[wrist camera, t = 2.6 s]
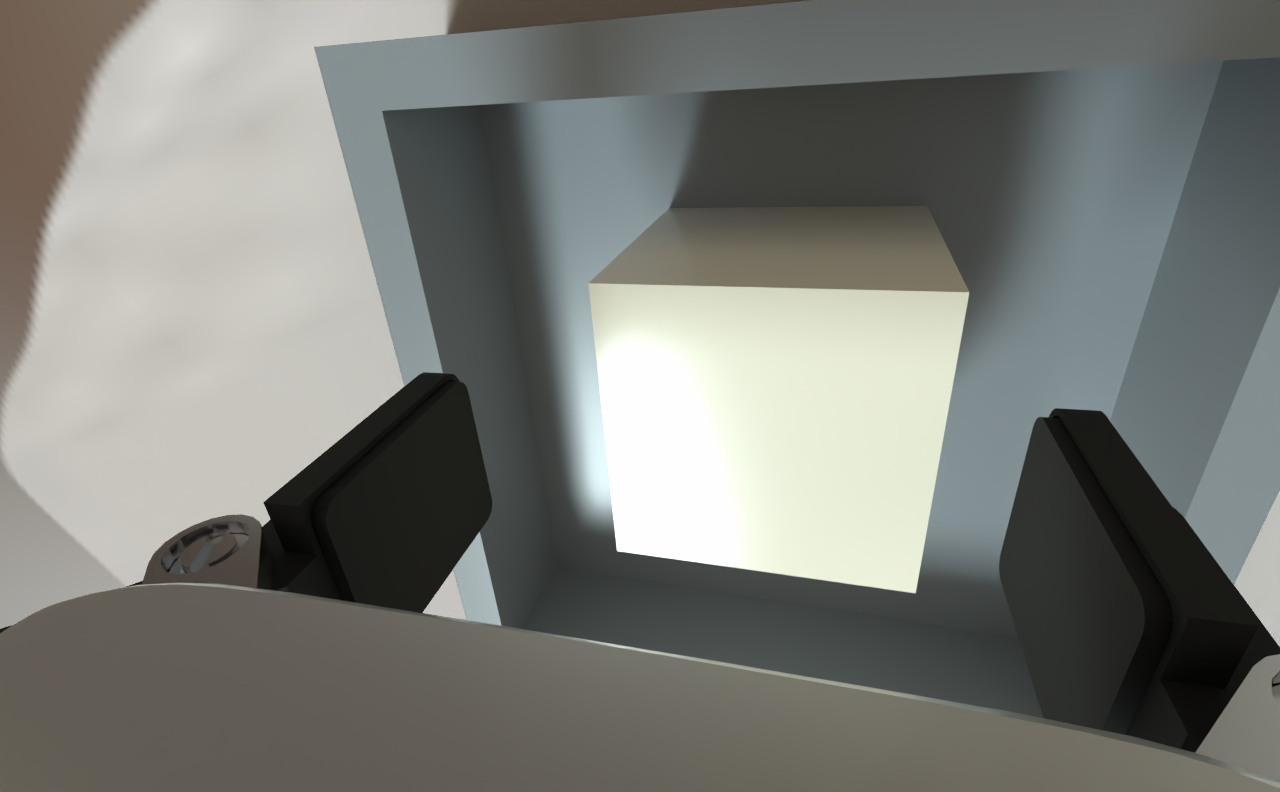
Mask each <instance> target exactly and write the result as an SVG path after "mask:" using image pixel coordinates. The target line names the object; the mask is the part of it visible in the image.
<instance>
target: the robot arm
mask: <svg viewBox="0 0 1280 792" xmlns="http://www.w3.org/2000/svg"><path fill="white" fill-rule="evenodd" d="M264 505H265V507H266V509H267V512H268V514H269V516H270V519H271V520H270V521H269V522H268V523H266V524H265V525H264V526H263V527H262V526H261V524H260V522H259V521H258V520H256V519H255V518H254V517H251V516H246V515H226V516H222V517H217V518H212V519H209V520H206V521H204V522H201V523H198V524H195V525H193V526H191V527H189V528H187V529H185V530H183V531H182V532H180V533H178V534H176V535H175V536H174V537H172V538H171V539H169V540H168V541H166V542H165V543H164V544H163V545H162V546H161V547H160V548H159V549H158V550H157V551H156V552H155V553H154V554H153V556H152V558H151V560H150V561H149V563H148V566H147V569H146V573H145V576H144V579H143V581H141V582H138V583H135V584H133V585H130V586H127V587H124V588H118V589H112V590H106V591H100V592H96V593H92V594H88V595H84V596H80V597H76V598H73V599H70V600H66V601H63V602H60V603H56V604H53V605H51V606H48V607H46V608H43V609H41V610H39V611H37V612H35V613H33V614H31V615H30V616H28V617H26V618H25V619H23V620H21V621H19V622H18V623H16V624H14V625H12V626H8V627H5V628H2V629H0V792H1280V647H1279V646H1278V645H1277V643H1276V642H1275V640H1274V639H1273V638H1272V636H1271V635H1270V634H1269V632H1268V631H1267V630H1266V628H1265V627H1264V625H1263V624H1262V623H1261V621H1260V620H1259V619H1258V617H1257V616H1256V615H1255V613H1254V612H1253V611H1252V609H1251V608H1250V606H1249V605H1248V604H1247V602H1246V601H1245V600H1244V598H1243V597H1242V596H1241V594H1240V593H1239V591H1238V590H1237V589H1236V587H1235V586H1234V585H1233V583H1232V582H1231V581H1230V579H1229V578H1228V577H1227V575H1226V574H1225V572H1224V571H1223V570H1222V568H1221V567H1220V566H1219V564H1218V563H1217V562H1216V560H1215V559H1214V558H1213V556H1212V555H1211V553H1210V552H1209V551H1208V549H1207V548H1206V547H1205V545H1204V544H1203V543H1202V541H1201V540H1200V538H1199V537H1198V536H1197V534H1196V533H1195V532H1194V530H1193V529H1192V528H1191V526H1190V525H1189V524H1188V522H1187V521H1186V519H1185V518H1184V517H1183V515H1181V514H1180V513H1179V512H1178V511H1177V510H1176V509H1175V508H1173V507H1172V506H1171V504H1170V503H1169V502H1168V500H1167V499H1166V497H1165V496H1164V495H1163V493H1162V492H1161V491H1160V489H1159V488H1158V486H1157V485H1156V484H1155V482H1154V481H1153V480H1152V478H1151V477H1150V475H1149V474H1148V473H1147V471H1146V470H1145V469H1144V467H1143V466H1142V464H1141V463H1140V462H1139V460H1138V459H1137V458H1136V456H1135V455H1134V453H1133V452H1132V451H1131V449H1130V448H1129V447H1128V445H1127V444H1126V442H1125V441H1124V440H1123V438H1122V437H1121V436H1120V434H1119V433H1118V431H1117V430H1116V429H1115V427H1114V426H1113V425H1112V423H1111V422H1110V420H1109V419H1108V418H1107V416H1106V415H1105V414H1104V413H1103V412H1102V411H1095V410H1078V409H1060V408H1055V409H1054V410H1052V412H1051V413H1050V415H1049V417H1038V418H1037V419H1036V421H1035V423H1034V426H1033V429H1032V433H1031V437H1030V441H1029V445H1028V449H1027V452H1026V456H1025V460H1024V464H1023V468H1022V472H1021V476H1020V480H1019V484H1018V488H1017V491H1016V495H1015V499H1014V503H1013V507H1012V511H1011V515H1010V519H1009V523H1008V527H1007V530H1006V534H1005V538H1004V542H1003V546H1002V550H1001V554H1000V559H999V574H1000V580H1001V584H1002V587H1003V590H1004V593H1005V596H1006V599H1007V603H1008V606H1009V609H1010V612H1011V615H1012V619H1013V622H1014V625H1015V628H1016V631H1017V635H1018V638H1019V641H1020V644H1021V647H1022V651H1023V654H1024V657H1025V660H1026V663H1027V667H1028V670H1029V673H1030V676H1031V679H1032V683H1033V686H1034V689H1035V692H1036V695H1037V698H1038V702H1039V705H1040V708H1041V711H1042V714H1043V718H1039V717H1035V716H1030V715H1025V714H1020V713H1015V712H1010V711H1005V710H998V709H992V708H986V707H980V706H974V705H969V704H963V703H957V702H952V701H946V700H940V699H935V698H929V697H923V696H918V695H912V694H906V693H900V692H894V691H889V690H883V689H877V688H871V687H865V686H859V685H853V684H848V683H842V682H836V681H830V680H824V679H818V678H812V677H806V676H801V675H795V674H789V673H783V672H777V671H771V670H765V669H760V668H754V667H748V666H742V665H736V664H730V663H724V662H718V661H713V660H707V659H701V658H695V657H689V656H682V655H676V654H670V653H664V652H658V651H652V650H646V649H640V648H634V647H628V646H622V645H616V644H610V643H604V642H598V641H592V640H586V639H580V638H574V637H567V636H561V635H555V634H549V633H543V632H537V631H531V630H525V629H519V628H512V627H506V626H500V625H494V624H487V623H481V622H475V621H468V620H462V619H456V618H450V617H443V616H437V615H431V614H424V613H422V612H423V611H424V609H425V608H426V607H427V605H428V604H429V602H430V601H431V600H432V598H433V597H434V595H435V594H436V592H437V591H438V590H439V588H440V587H441V585H442V584H443V583H444V581H445V580H446V578H447V577H448V576H449V574H450V573H451V571H452V570H453V568H454V567H455V566H456V564H457V563H458V561H459V560H460V559H461V557H462V556H463V554H464V553H465V552H466V550H467V549H468V547H469V546H470V545H471V543H472V542H473V540H474V539H475V537H476V536H477V535H478V533H479V532H480V530H481V529H482V528H483V526H484V525H485V523H486V522H487V521H488V519H489V517H490V514H491V511H492V497H491V492H490V488H489V483H488V479H487V474H486V470H485V465H484V461H483V456H482V451H481V447H480V442H479V438H478V433H477V429H476V424H475V420H474V415H473V411H472V406H471V402H470V397H469V393H468V389H467V387H466V385H465V384H464V383H463V382H460V381H459V379H458V378H457V376H455V375H454V374H447V373H430V372H423V373H421V374H419V375H418V376H417V377H416V378H414V379H413V380H412V381H411V382H409V383H408V384H407V385H406V386H405V387H403V388H402V389H401V390H400V391H398V392H397V393H396V394H395V395H394V396H392V397H391V398H390V399H389V400H388V401H386V402H385V403H384V404H383V405H381V406H380V407H379V408H378V409H377V410H375V411H374V412H373V413H372V414H371V415H369V416H368V417H367V418H366V419H364V420H363V421H362V422H361V423H360V424H358V425H357V426H356V427H355V428H353V429H352V430H351V431H350V432H349V433H347V434H346V435H345V436H344V437H343V438H341V439H340V440H339V441H338V442H336V443H335V444H334V445H333V446H332V447H330V448H329V449H328V450H327V451H325V452H324V453H323V454H322V455H321V456H319V457H318V458H317V459H316V460H315V461H313V462H312V463H311V464H310V465H308V466H307V467H306V468H305V469H304V470H302V471H301V472H300V473H299V474H297V475H296V476H295V477H294V478H293V479H291V480H290V481H289V482H288V483H287V484H285V485H284V486H283V487H282V488H280V489H279V490H278V491H277V492H276V493H274V494H273V495H272V496H271V497H270V498H268V499H267V500H266V501H265V502H264Z"/></svg>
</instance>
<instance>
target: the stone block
mask: <svg viewBox="0 0 1280 792" xmlns="http://www.w3.org/2000/svg"><path fill="white" fill-rule="evenodd" d="M588 286H589V295H590V304H591V313H592V323H593V332H594V341H595V350H596V360H597V369H598V378H599V388H600V397H601V406H602V415H603V425H604V434H605V443H606V452H607V462H608V471H609V480H610V489H611V499H612V508H613V517H614V526H615V536H616V545H617V551H622V552H629V553H636V554H643V555H650V556H657V557H664V558H671V559H678V560H685V561H692V562H699V563H706V564H713V565H720V566H727V567H734V568H741V569H748V570H755V571H762V572H769V573H776V574H783V575H790V576H797V577H804V578H811V579H818V580H825V581H832V582H839V583H846V584H854V585H861V586H868V587H875V588H882V589H889V590H896V591H903V592H910V593H916V588H917V583H918V577H919V572H920V566H921V561H922V555H923V549H924V544H925V538H926V533H927V527H928V521H929V516H930V510H931V505H932V499H933V493H934V488H935V482H936V477H937V471H938V465H939V460H940V454H941V449H942V443H943V437H944V432H945V426H946V421H947V415H948V409H949V404H950V398H951V393H952V387H953V381H954V376H955V370H956V365H957V359H958V353H959V348H960V342H961V337H962V331H963V325H964V320H965V314H966V309H967V303H968V297H969V290H968V288H967V286H966V284H965V282H964V280H963V278H962V276H961V274H960V272H959V270H958V268H957V266H956V264H955V262H954V260H953V258H952V256H951V254H950V252H949V250H948V248H947V246H946V244H945V242H944V240H943V237H942V235H941V233H940V231H939V229H938V227H937V225H936V223H935V221H934V219H933V217H932V215H931V213H930V211H929V209H928V207H927V206H838V207H736V208H669V209H668V210H667V211H666V212H665V213H664V214H662V215H661V216H660V217H659V218H658V219H657V220H656V221H655V222H654V223H653V224H652V225H651V226H649V227H648V228H647V229H646V230H645V231H644V232H643V233H642V234H641V235H640V236H639V237H638V238H637V239H635V240H634V241H633V242H632V243H631V244H630V245H629V246H628V247H627V248H626V249H625V250H624V251H623V252H621V253H620V254H619V255H618V256H617V257H616V258H615V259H614V260H613V261H612V262H611V263H610V264H609V265H607V266H606V267H605V268H604V269H603V270H602V271H601V272H600V273H599V274H598V275H597V276H596V277H594V278H593V279H592V280H591V281H590V282H589V283H588Z"/></svg>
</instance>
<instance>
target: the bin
mask: <svg viewBox="0 0 1280 792" xmlns="http://www.w3.org/2000/svg"><path fill="white" fill-rule="evenodd" d="M314 48H315V52H316V56H317V60H318V63H319V67H320V71H321V75H322V78H323V82H324V86H325V90H326V93H327V97H328V101H329V105H330V108H331V112H332V116H333V120H334V123H335V127H336V131H337V135H338V138H339V142H340V146H341V150H342V153H343V157H344V161H345V165H346V169H347V172H348V176H349V180H350V184H351V187H352V191H353V195H354V199H355V202H356V206H357V210H358V214H359V217H360V221H361V225H362V229H363V232H364V236H365V240H366V244H367V247H368V251H369V255H370V259H371V262H372V266H373V270H374V274H375V277H376V281H377V285H378V289H379V293H380V296H381V300H382V304H383V308H384V311H385V315H386V319H387V323H388V326H389V330H390V334H391V338H392V341H393V345H394V349H395V353H396V356H397V360H398V364H399V368H400V371H401V375H402V379H403V383H404V386H406V385H407V384H408V383H409V382H411V381H412V380H413V379H414V378H416V377H417V376H418V375H419V374H421V373H423V372H430V373H447V374H454V375H455V376H457V378H458V379H459V381H460V382H463V383H464V384H465V385H466V387H467V389H468V393H469V397H470V402H471V406H472V411H473V415H474V420H475V424H476V429H477V433H478V438H479V442H480V447H481V451H482V456H483V461H484V465H485V470H486V474H487V479H488V483H489V488H490V492H491V497H492V511H491V514H490V517H489V519H488V521H487V522H486V523H485V525H484V526H483V528H482V529H481V530H480V532H479V533H478V535H477V536H476V537H475V539H474V540H473V542H472V543H471V545H470V546H469V547H468V549H467V550H466V552H465V553H464V554H463V556H462V557H461V559H460V560H459V561H458V563H457V564H456V566H455V567H454V568H453V571H454V574H455V578H456V582H457V586H458V589H459V593H460V597H461V601H462V604H463V608H464V612H465V616H466V619H467V620H468V621H475V622H481V623H487V624H494V625H500V626H506V627H512V628H519V629H525V630H531V631H537V632H543V633H549V634H555V635H561V636H567V637H574V638H580V639H586V640H592V641H598V642H604V643H610V644H616V645H622V646H628V647H634V648H640V649H646V650H652V651H658V652H664V653H670V654H676V655H682V656H689V657H695V658H701V659H707V660H713V661H718V662H724V663H730V664H736V665H742V666H748V667H754V668H760V669H765V670H771V671H777V672H783V673H789V674H795V675H801V676H806V677H812V678H818V679H824V680H830V681H836V682H842V683H848V684H853V685H859V686H865V687H871V688H877V689H883V690H889V691H894V692H900V693H906V694H912V695H918V696H923V697H929V698H935V699H940V700H946V701H952V702H957V703H963V704H969V705H974V706H980V707H986V708H992V709H998V710H1005V711H1010V712H1015V713H1020V714H1025V715H1030V716H1035V717H1039V718H1043V714H1042V711H1041V708H1040V705H1039V702H1038V698H1037V695H1036V692H1035V689H1034V686H1033V683H1032V679H1031V676H1030V673H1029V670H1028V667H1027V663H1026V660H1025V657H1024V654H1023V651H1022V647H1021V644H1020V641H1019V638H1018V635H1017V631H1016V628H1015V625H1014V622H1013V619H1012V615H1011V612H1010V609H1009V606H1008V603H1007V599H1006V596H1005V593H1004V590H1003V587H1002V584H1001V580H1000V574H999V559H1000V554H1001V550H1002V546H1003V542H1004V538H1005V534H1006V530H1007V527H1008V523H1009V519H1010V515H1011V511H1012V507H1013V503H1014V499H1015V495H1016V491H1017V488H1018V484H1019V480H1020V476H1021V472H1022V468H1023V464H1024V460H1025V456H1026V452H1027V449H1028V445H1029V441H1030V437H1031V433H1032V429H1033V426H1034V423H1035V421H1036V419H1037V418H1038V417H1049V415H1050V413H1051V412H1052V410H1054V409H1055V408H1060V409H1078V410H1095V411H1102V412H1103V413H1104V414H1105V415H1106V416H1107V418H1108V419H1109V420H1110V422H1111V423H1112V425H1113V426H1114V427H1115V429H1116V430H1117V431H1118V433H1119V434H1120V436H1121V437H1122V438H1123V440H1124V441H1125V442H1126V444H1127V445H1128V447H1129V448H1130V449H1131V451H1132V452H1133V453H1134V455H1135V456H1136V458H1137V459H1138V460H1139V462H1140V463H1141V464H1142V466H1143V467H1144V469H1145V470H1146V471H1147V473H1148V474H1149V475H1150V477H1151V478H1152V480H1153V481H1154V482H1155V484H1156V485H1157V486H1158V488H1159V489H1160V491H1161V492H1162V493H1163V495H1164V496H1165V497H1166V499H1167V500H1168V502H1169V503H1170V504H1171V506H1172V507H1173V508H1175V509H1176V510H1177V511H1178V512H1179V513H1180V514H1181V515H1183V517H1184V518H1185V519H1186V521H1187V522H1188V524H1189V525H1190V526H1191V528H1192V529H1193V530H1194V532H1195V533H1196V534H1197V536H1198V537H1199V538H1200V540H1201V541H1202V543H1203V544H1204V545H1205V547H1206V548H1207V549H1208V551H1209V552H1210V553H1211V555H1212V556H1213V558H1214V559H1215V560H1216V562H1217V563H1218V564H1219V566H1220V567H1221V568H1222V570H1223V571H1224V572H1225V574H1226V575H1227V577H1228V578H1229V579H1230V581H1231V582H1232V583H1233V585H1234V583H1235V581H1236V579H1237V577H1238V575H1239V573H1240V571H1241V569H1242V567H1243V565H1244V562H1245V560H1246V558H1247V556H1248V554H1249V552H1250V550H1251V548H1252V546H1253V544H1254V542H1255V540H1256V538H1257V536H1258V534H1259V532H1260V529H1261V527H1262V525H1263V523H1264V521H1265V519H1266V517H1267V515H1268V513H1269V511H1270V509H1271V507H1272V505H1273V503H1274V501H1275V499H1276V496H1277V494H1278V492H1279V490H1280V0H808V1H797V2H787V3H776V4H766V5H755V6H744V7H734V8H723V9H713V10H702V11H691V12H681V13H670V14H660V15H649V16H638V17H628V18H617V19H607V20H596V21H585V22H575V23H564V24H554V25H543V26H532V27H522V28H511V29H501V30H490V31H479V32H469V33H458V34H448V35H437V36H426V37H416V38H405V39H395V40H384V41H373V42H363V43H352V44H342V45H331V46H320V47H314ZM838 206H927V207H928V209H929V211H930V213H931V215H932V217H933V219H934V221H935V223H936V225H937V227H938V229H939V231H940V233H941V235H942V237H943V240H944V242H945V244H946V246H947V248H948V250H949V252H950V254H951V256H952V258H953V260H954V262H955V264H956V266H957V268H958V270H959V272H960V274H961V276H962V278H963V280H964V282H965V284H966V286H967V288H968V290H969V297H968V303H967V309H966V314H965V320H964V325H963V331H962V337H961V342H960V348H959V353H958V359H957V365H956V370H955V376H954V381H953V387H952V393H951V398H950V404H949V409H948V415H947V421H946V426H945V432H944V437H943V443H942V449H941V454H940V460H939V465H938V471H937V477H936V482H935V488H934V493H933V499H932V505H931V510H930V516H929V521H928V527H927V533H926V538H925V544H924V549H923V555H922V561H921V566H920V572H919V577H918V583H917V588H916V593H910V592H903V591H896V590H889V589H882V588H875V587H868V586H861V585H854V584H846V583H839V582H832V581H825V580H818V579H811V578H804V577H797V576H790V575H783V574H776V573H769V572H762V571H755V570H748V569H741V568H734V567H727V566H720V565H713V564H706V563H699V562H692V561H685V560H678V559H671V558H664V557H657V556H650V555H643V554H636V553H629V552H622V551H617V545H616V536H615V526H614V517H613V508H612V499H611V489H610V480H609V471H608V462H607V452H606V443H605V434H604V425H603V415H602V406H601V397H600V388H599V378H598V369H597V360H596V350H595V341H594V332H593V323H592V313H591V304H590V295H589V286H588V283H589V282H590V281H591V280H592V279H593V278H594V277H596V276H597V275H598V274H599V273H600V272H601V271H602V270H603V269H604V268H605V267H606V266H607V265H609V264H610V263H611V262H612V261H613V260H614V259H615V258H616V257H617V256H618V255H619V254H620V253H621V252H623V251H624V250H625V249H626V248H627V247H628V246H629V245H630V244H631V243H632V242H633V241H634V240H635V239H637V238H638V237H639V236H640V235H641V234H642V233H643V232H644V231H645V230H646V229H647V228H648V227H649V226H651V225H652V224H653V223H654V222H655V221H656V220H657V219H658V218H659V217H660V216H661V215H662V214H664V213H665V212H666V211H667V210H668V209H669V208H736V207H838Z"/></svg>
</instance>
